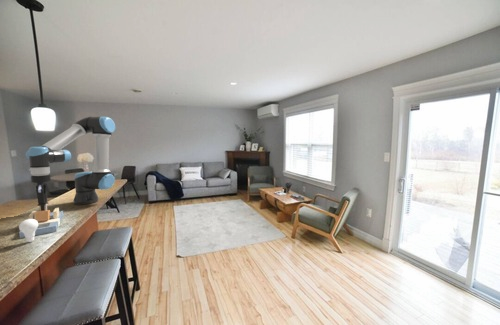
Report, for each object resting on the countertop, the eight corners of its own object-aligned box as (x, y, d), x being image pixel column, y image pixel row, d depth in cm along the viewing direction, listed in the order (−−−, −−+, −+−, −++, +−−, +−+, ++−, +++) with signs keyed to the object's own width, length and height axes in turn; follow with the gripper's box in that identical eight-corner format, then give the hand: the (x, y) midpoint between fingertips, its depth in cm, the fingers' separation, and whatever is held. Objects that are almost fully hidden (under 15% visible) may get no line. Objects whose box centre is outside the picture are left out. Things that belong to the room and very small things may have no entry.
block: (37, 220, 113) (37, 211, 113) (50, 218, 116) (49, 209, 116) (35, 221, 109) (34, 212, 109) (48, 219, 112) (47, 210, 112)
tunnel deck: (33, 219, 122) (32, 208, 121) (63, 215, 129) (62, 204, 129) (19, 238, 99) (18, 224, 99) (56, 231, 107) (55, 218, 106)
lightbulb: (34, 244, 94) (31, 221, 93) (17, 246, 92) (14, 222, 91) (43, 238, 100) (41, 216, 99) (27, 239, 98) (24, 217, 97)
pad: (27, 228, 110) (26, 223, 110) (60, 223, 118) (59, 217, 117) (24, 232, 106) (23, 226, 105) (58, 226, 113) (58, 221, 113)
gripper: (33, 173, 117) (37, 213, 119) (27, 176, 106) (31, 221, 108) (51, 172, 121) (54, 211, 123) (47, 175, 111) (51, 218, 113)
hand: (43, 215), depth 116 cm, fingers closed
